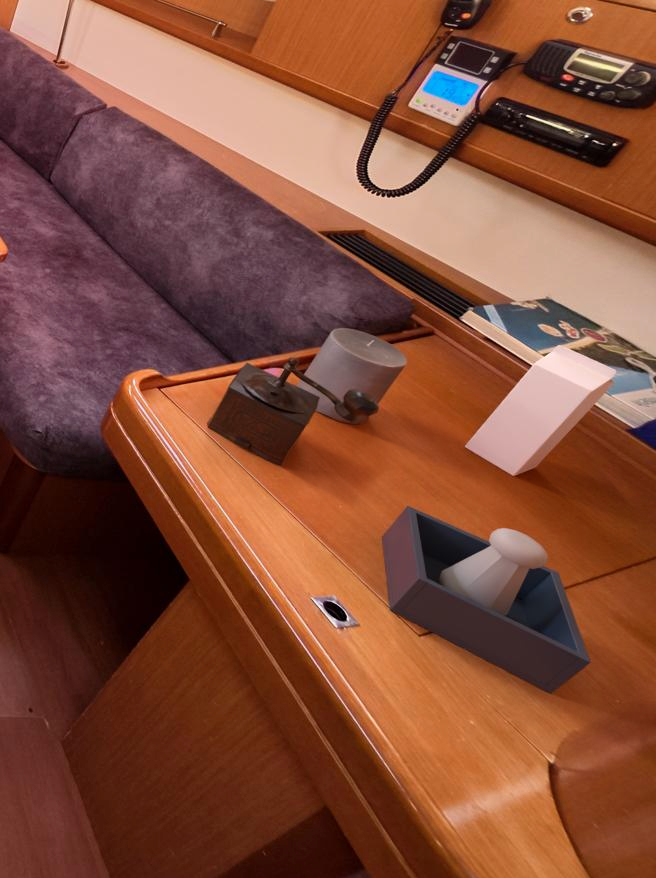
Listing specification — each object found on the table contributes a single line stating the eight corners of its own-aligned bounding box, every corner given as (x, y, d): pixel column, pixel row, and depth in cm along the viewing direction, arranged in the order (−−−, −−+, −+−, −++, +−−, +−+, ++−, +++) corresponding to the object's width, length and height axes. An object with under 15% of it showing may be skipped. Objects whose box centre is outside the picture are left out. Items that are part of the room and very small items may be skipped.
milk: (513, 477, 99) (607, 376, 89) (462, 446, 105) (546, 348, 94) (535, 467, 101) (630, 367, 91) (484, 438, 106) (569, 340, 96)
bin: (524, 604, 82) (559, 572, 79) (551, 694, 73) (591, 663, 70) (381, 536, 90) (407, 505, 87) (389, 610, 81) (418, 578, 78)
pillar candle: (333, 384, 117) (374, 322, 110) (382, 426, 108) (430, 362, 101) (280, 382, 117) (318, 320, 110) (325, 424, 108) (369, 359, 101)
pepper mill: (203, 428, 107) (247, 348, 99) (223, 398, 113) (266, 321, 105) (321, 493, 96) (381, 410, 88) (336, 456, 102) (394, 376, 94)
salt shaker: (492, 637, 77) (561, 575, 71) (427, 597, 81) (486, 536, 75) (498, 608, 80) (563, 546, 74) (434, 571, 84) (491, 510, 79)
